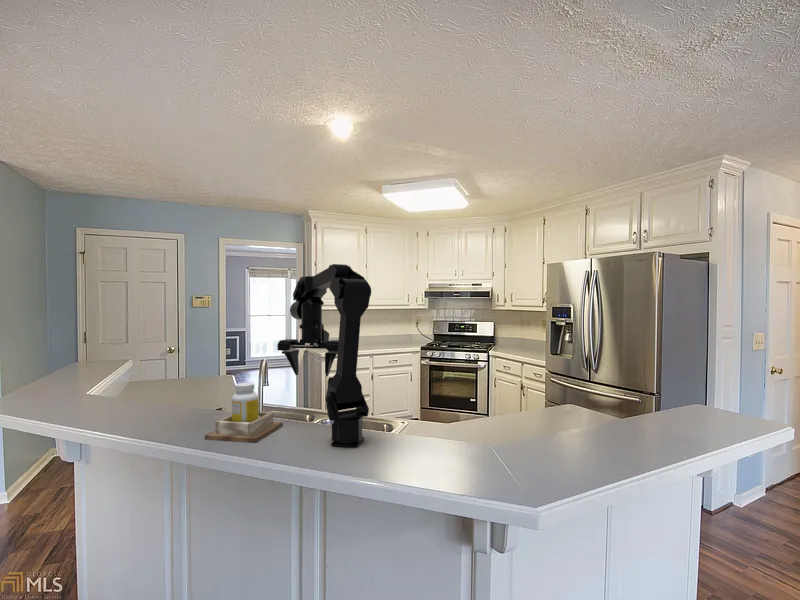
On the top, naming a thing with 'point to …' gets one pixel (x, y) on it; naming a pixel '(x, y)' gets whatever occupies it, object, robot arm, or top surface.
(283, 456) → the top surface
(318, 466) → the top surface
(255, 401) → the pill bottle
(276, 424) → the pocket tray
